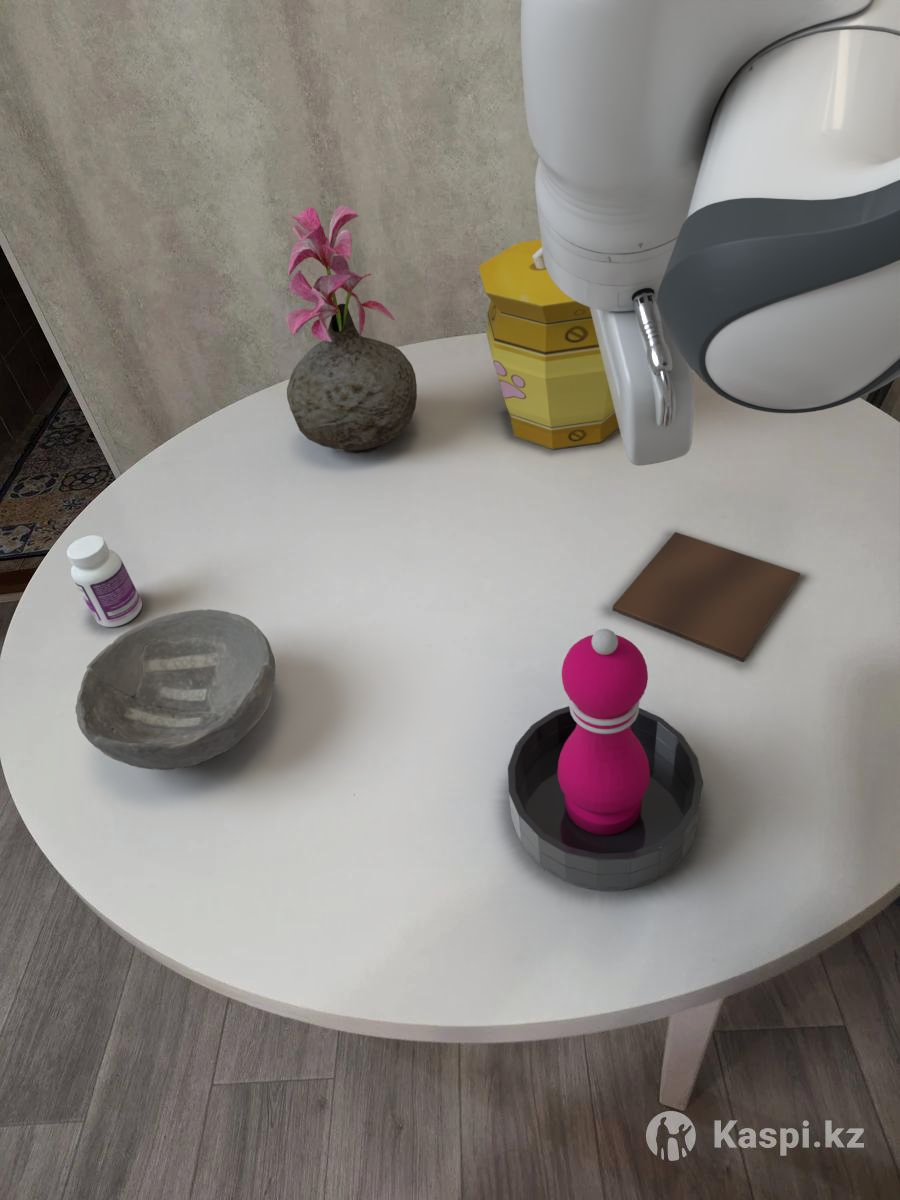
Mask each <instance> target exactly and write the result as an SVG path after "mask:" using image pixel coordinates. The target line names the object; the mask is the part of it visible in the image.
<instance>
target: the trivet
mask: <svg viewBox="0 0 900 1200" xmlns="http://www.w3.org/2000/svg"><path fill="white" fill-rule="evenodd" d="M800 577H801V572H798V571H795V570H792V569H789V568H786V567H783V566H781V565H777V564H774V563H772V562H768V561H765V560H762V559H759V558H756V557H753V556H750V555H748V554H747V555H746V554H743V553H740V552H737V551H735V550H731V549H728V548H726V547H723V546H720V545H716V544H714V543H711V542H707V541H705V540H702V539H698V538H695V537H692V536H690V535H686V534H683V533H680V532H677V531H675V532H674V533H673V534H672V535H671V537H669V539H668V540H667V541H666V543H664V545H663V546H662V547H661V548H660V549H659V551H658V552H657V553H656V554H655V556H653V558H651V560H650V561H649V563H648V564H647V565H646V566H645V567H644V568H643V570H642V571H641V572H640V573H639V574H638V576H637V577H636V578H635V579H634V580H633V581H632V583H631V584H630V585H629V586H628V587H627V588H626V590H625V591H624V592H623V593H622V594H621V596H620V597H619V598H618V599H616V602H615V603H614V604H613V605H612V609H611V610H612V611H613V612H616V613H618V614H621V615H623V616H626V617H629V618H630V619H633V620H636V621H639V622H641V623H644V624H646V625H649V626H651V627H653V628H656V629H658V630H662V631H664V632H667V633H669V634H672V635H674V636H676V637H680V638H682V639H683V640H687V641H690V642H692V643H694V644H697V645H699V646H703V647H705V648H707V649H710V650H712V651H714V652H717V653H720V654H722V655H725V656H726V657H730V658H732V659H734V660H738V661H740V662H744V661H745V659H746V658H747V657H748V655H749V654H750V652H751V650H752V649H753V648H754V647H755V645H756V643H757V642H758V640H759V639H760V637H761V636H762V635H763V633H764V631H765V630H766V629H767V627H768V625H769V624H770V622H771V621H772V620H773V618H774V616H775V615H776V613H777V612H778V611H779V609H780V607H781V606H782V604H783V603H784V601H785V600H786V599H787V597H788V596H789V594H790V592H791V591H792V589H793V588H794V586H795V585H796V583H797V582H798V580H799V579H800Z"/></svg>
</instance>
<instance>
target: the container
mask: <svg viewBox="0 0 900 1200" xmlns="http://www.w3.org/2000/svg"><path fill="white" fill-rule="evenodd" d="M478 270H479V273H480V276H481V281H482V284H483V288H484V292H485V294H486V296H488V298H489V299H490V304H489V306H488V310H487V318H486V339H487V342H488V346H489V350H490V354H491V359H492V363H493V366H494V369H495V372H496V375H497V378H498V380H499V385H500V388H501V391H502V395H503V399H504V403H505V407H506V408H507V411H508V412H507V413H508V416H509V421H510V425H511V429H512V433H513V436H514V438H517V439H520V440H522V441H526V442H527V443H528V442H529V443H531V444H533V445H534V444H535V445H537V446H540V447H543V448H546V449H549V450H552V451H555V450H561V449H562V450H563V449H570V448H576V447H584V446H591V445H598V444H602V443H603V442H604V441H605V440H606V439H607V438H609V437H610V436H611V435H613V433H614V432H616V431H617V430H618V429H619V425H618V421H617V417H616V413H615V409H614V404H613V400H612V396H611V392H610V388H609V384H608V380H607V376H606V372H605V368H604V364H603V360H602V356H601V351H600V347H599V343H598V339H597V335H596V331H595V327H594V323H593V319H592V315H591V311H590V307H588V306H585V305H583V304H581V303H578V302H577V301H575V300H573V299H571V298H570V297H569V296H567V295H566V294H565V293H563V292H562V291H561V290H560V289H559V288H558V287H557V286H556V284H555V283H554V282H553V280H552V279H551V277H550V275H549V274H548V271H547V269H546V266H545V263H544V259H543V252H542V244H541V238H539V239H533V240H525V241H519V242H516V243H514V244H513V245H511V246H510V247H508V248H506V249H504V250H503V251H501V252H500V253H498V254H496V255H494V256H493V257H491V258H489V259H488V260H486V261H484V262H483V263H481V264H479V265H478Z"/></svg>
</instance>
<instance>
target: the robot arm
mask: <svg viewBox="0 0 900 1200" xmlns="http://www.w3.org/2000/svg"><path fill="white" fill-rule="evenodd" d="M520 55H521V70H522V73H521V74H522V83H523V95H524V96H523V97H524V110H525V118H526V125H527V130H528V134H529V138H530V140H531V143H532V146H533V148H534V150H535V152H536V153H537V155H538V160H537V164H536V168H535V175H534V178H535V179H534V192H535V200H536V210H537V217H538V226H539V235H540V239H541V244H542V252H543V259H544V263H545V266H546V269H547V271H548V274H549V275H550V277H551V279H552V280H553V282H554V283H555V284H556V286H557V287H558V288H559V289H560V290H561V291H562V292H563V293H565V294H566V295H567V296H569V297H570V298H571V299H573V300H575V301H577V302H578V303H581V304H583V305H585V306H588V307H590V311H591V315H592V319H593V323H594V327H595V331H596V335H597V339H598V343H599V347H600V351H601V356H602V360H603V364H604V368H605V372H606V376H607V380H608V384H609V388H610V392H611V396H612V400H613V404H614V409H615V413H616V417H617V421H618V425H619V428H618V429H619V432H620V433H619V434H620V438H621V441H622V445H623V448H624V452H625V456H626V458H627V460H628V461H629V462H630V463H631V464H632V465H634V466H648V465H655V464H660V463H664V462H668V461H673V460H675V459H679V458H682V457H684V456H686V455H687V454H688V453H689V452H690V451H691V448H692V443H693V433H694V420H695V396H696V395H695V383H694V375H693V372H695V374H696V375H697V376H698V378H700V379H701V380H702V381H703V382H704V383H705V384H706V385H707V386H708V387H709V388H710V389H711V390H713V391H714V392H715V393H716V394H718V395H720V396H721V397H723V398H724V399H726V400H728V401H729V402H731V403H734V404H735V405H738V406H741V407H744V408H748V409H752V410H755V411H760V412H766V413H772V414H773V413H774V414H805V413H812V412H819V411H823V410H829V409H832V408H835V407H839V406H842V405H844V404H847V403H850V402H853V401H855V400H858V399H861V398H863V397H864V396H867V395H869V394H870V393H873V392H876V391H877V390H879V389H881V388H882V387H884V386H886V385H888V384H889V383H891V382H893V381H895V380H897V378H899V377H900V0H521V1H520Z"/></svg>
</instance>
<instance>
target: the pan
mask: <svg viewBox="0 0 900 1200" xmlns="http://www.w3.org/2000/svg"><path fill="white" fill-rule="evenodd" d="M576 726H577V723H576V721H575V720H574V719H573V717H572V715H571V713H570V705H568V706H565V707H562V708H558V709H555V710H552V711H551V712H550V713H548V714H547V715H545V716H543V717H542V718H540V719H539V720H537V721H536V722H534V723H532V725H530V727H528V729H527V730H526V731H525V732H524V734H523V735H522V736H521V738H520V739H518V741H517V742H516V744H515V746H514V748H513V751H512V754H511V756H510V760H509V763H508V765H507V783H508V784H507V785H508V787H507V788H508V789H507V791H508V798H509V807H510V808H509V809H510V816H511V822H512V824H513V826H514V830H515V833H516V835H517V837H518V840H519V842H520V843H521V845H522V847H523V848H524V850H525V851H526V852H527V854H528V855H529V856H530V857H531V858H532V860H534V861H535V863H536V864H538V865H539V866H540V867H541V868H542V869H544V870H545V871H546V872H548V873H549V874H551V875H552V876H554V877H555V878H557V879H560V880H562V881H563V882H566V883H569V884H571V885H574V886H577V887H580V888H585V889H589V890H596V891H622V890H623V891H624V890H630V889H634V888H638V887H642V886H645V885H647V884H650V883H652V882H654V881H656V880H658V879H660V878H662V877H663V876H665V875H667V874H668V873H669V872H670V871H671V870H673V869H674V868H675V867H676V866H677V865H678V864H679V863H680V862H681V861H682V860H683V859H684V858H685V855H686V854H687V853H688V851H689V849H690V848H691V845H692V844H693V842H694V839H695V837H696V832H697V828H698V827H697V826H698V820H699V815H700V808H701V803H702V801H701V800H702V794H703V788H704V779H703V776H702V771H701V767H700V763H699V759H698V756H697V755H696V753H695V752H694V750H693V749H692V747H691V745H690V744H689V743H688V741H687V739H686V738H685V737H684V735H683V734H682V733H681V732H680V731H678V730H677V729H676V728H675V727H673V726H672V725H671V724H670V723H668V722H667V721H666V720H665V719H664V718H662V717H661V716H659V715H657V714H654V713H652V712H650V711H648V710H645V709H643V708H641V707H639V712H638V715H637V718H636V720H635V721H634V722H633V723H632V724H631V730H632V732H633V733H634V735H635V736H636V737H637V739H638V740H639V742H640V743H641V745H642V747H643V748H644V751H645V753H646V756H647V759H648V763H649V772H650V780H649V785H648V788H647V790H646V793H645V794H644V796H643V797H642V805H641V811H640V814H639V817H638V818H637V820H636V821H635V823H634V824H633V825H632V826H630V827H629V828H627V829H626V830H624V831H622V832H619V833H616V834H610V835H599V834H593V833H591V832H588V831H585V830H584V829H582V828H580V827H579V826H577V825H576V824H575V823H574V822H573V820H572V819H571V818H570V816H569V814H568V812H567V810H566V806H565V794H564V793H563V791H562V789H561V787H560V783H559V780H558V762H559V757H560V753H561V751H562V749H563V746H564V744H565V742H566V741H567V739H568V738H569V737H570V735H571V734H572V732H573V731H574V730H575V728H576Z"/></svg>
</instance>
